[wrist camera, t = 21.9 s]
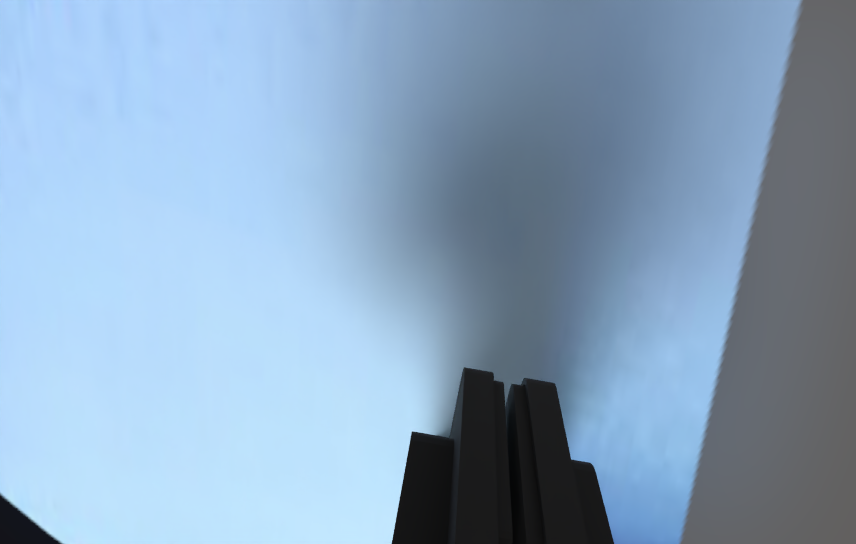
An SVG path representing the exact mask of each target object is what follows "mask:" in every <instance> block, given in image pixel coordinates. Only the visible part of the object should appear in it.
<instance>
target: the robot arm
mask: <svg viewBox="0 0 856 544" xmlns="http://www.w3.org/2000/svg"><path fill="white" fill-rule="evenodd" d="M392 544H614V542H613V538H612V534H611V530H610V526H609V522H608V518H607V515H606V511H605V507H604V503H603V499H602V495H601V491H600V487H599V483H598V480H597V476H596V472H595V469H594V467H593V465H592V464H591V463H588V462H582V461H576V460H571V457H570V452H569V447H568V443H567V438H566V433H565V428H564V423H563V418H562V414H561V409H560V404H559V399H558V394H557V389H556V386H555V384H554V383H550V382H545V381H539V380H533V379H527V378H524V379H523V382H522V384H521V385H516V384H512V385H511V387H510V390H509V394H508V399H507V403H506V407H505V395H504V383H503V382H499V381H494V375H493V372H487V371H481V370H476V369H470V368H464V369H463V372H462V377H461V382H460V387H459V392H458V397H457V402H456V407H455V412H454V417H453V422H452V427H451V432H450V437H449V438H446V437H441V436H435V435H429V434H424V433H418V432H412V434H411V440H410V445H409V451H408V457H407V462H406V468H405V473H404V479H403V484H402V490H401V496H400V501H399V507H398V512H397V518H396V523H395V529H394V535H393V540H392Z"/></svg>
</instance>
